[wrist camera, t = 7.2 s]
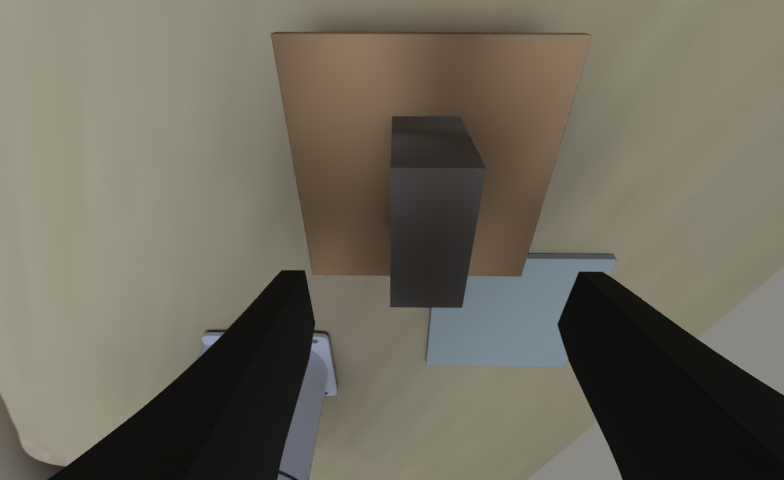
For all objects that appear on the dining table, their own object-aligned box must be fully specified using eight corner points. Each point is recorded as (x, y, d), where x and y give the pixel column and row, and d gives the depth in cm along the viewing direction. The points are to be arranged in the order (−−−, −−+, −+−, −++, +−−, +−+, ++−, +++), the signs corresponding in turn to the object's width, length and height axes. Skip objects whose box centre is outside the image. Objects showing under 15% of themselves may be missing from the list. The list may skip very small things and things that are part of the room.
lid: (315, 266, 17) (290, 352, 13) (276, 31, 11) (208, 55, 7) (517, 268, 17) (555, 355, 13) (583, 32, 11) (690, 57, 7)
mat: (425, 360, 28) (426, 365, 28) (435, 252, 22) (436, 257, 21) (561, 361, 28) (564, 366, 28) (613, 254, 22) (617, 259, 21)
